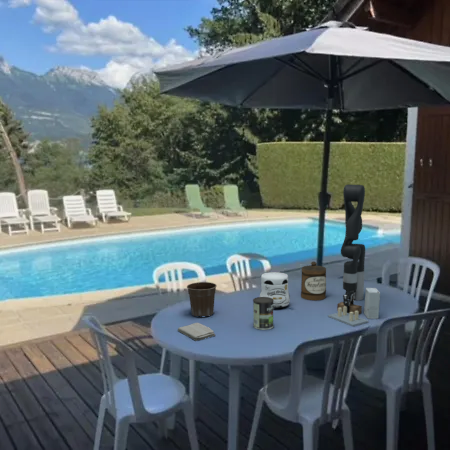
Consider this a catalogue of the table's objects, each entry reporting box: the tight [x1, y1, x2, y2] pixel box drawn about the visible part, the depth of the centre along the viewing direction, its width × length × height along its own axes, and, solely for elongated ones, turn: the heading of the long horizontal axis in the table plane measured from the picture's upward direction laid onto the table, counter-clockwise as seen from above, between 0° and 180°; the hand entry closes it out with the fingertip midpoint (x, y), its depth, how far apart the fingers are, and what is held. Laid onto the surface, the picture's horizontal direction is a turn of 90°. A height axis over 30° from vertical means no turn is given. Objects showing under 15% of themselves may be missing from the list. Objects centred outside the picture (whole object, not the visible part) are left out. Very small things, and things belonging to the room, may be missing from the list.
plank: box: [336, 301, 363, 316], centre depth 270 cm, size 12×5×4 cm, turn 47°
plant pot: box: [186, 281, 217, 317], centre depth 269 cm, size 16×16×16 cm
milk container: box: [259, 271, 291, 309], centre depth 282 cm, size 17×17×18 cm
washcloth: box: [177, 322, 216, 342], centre depth 241 cm, size 12×18×3 cm, turn 37°
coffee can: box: [252, 296, 274, 331], centre depth 249 cm, size 10×10×14 cm
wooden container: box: [300, 261, 327, 301], centre depth 297 cm, size 15×15×22 cm
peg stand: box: [327, 306, 369, 327], centre depth 258 cm, size 18×11×6 cm, turn 31°
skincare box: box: [363, 287, 381, 320], centre depth 261 cm, size 8×6×15 cm
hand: (349, 310), depth 271 cm, fingers closed on plank, 5 cm apart
